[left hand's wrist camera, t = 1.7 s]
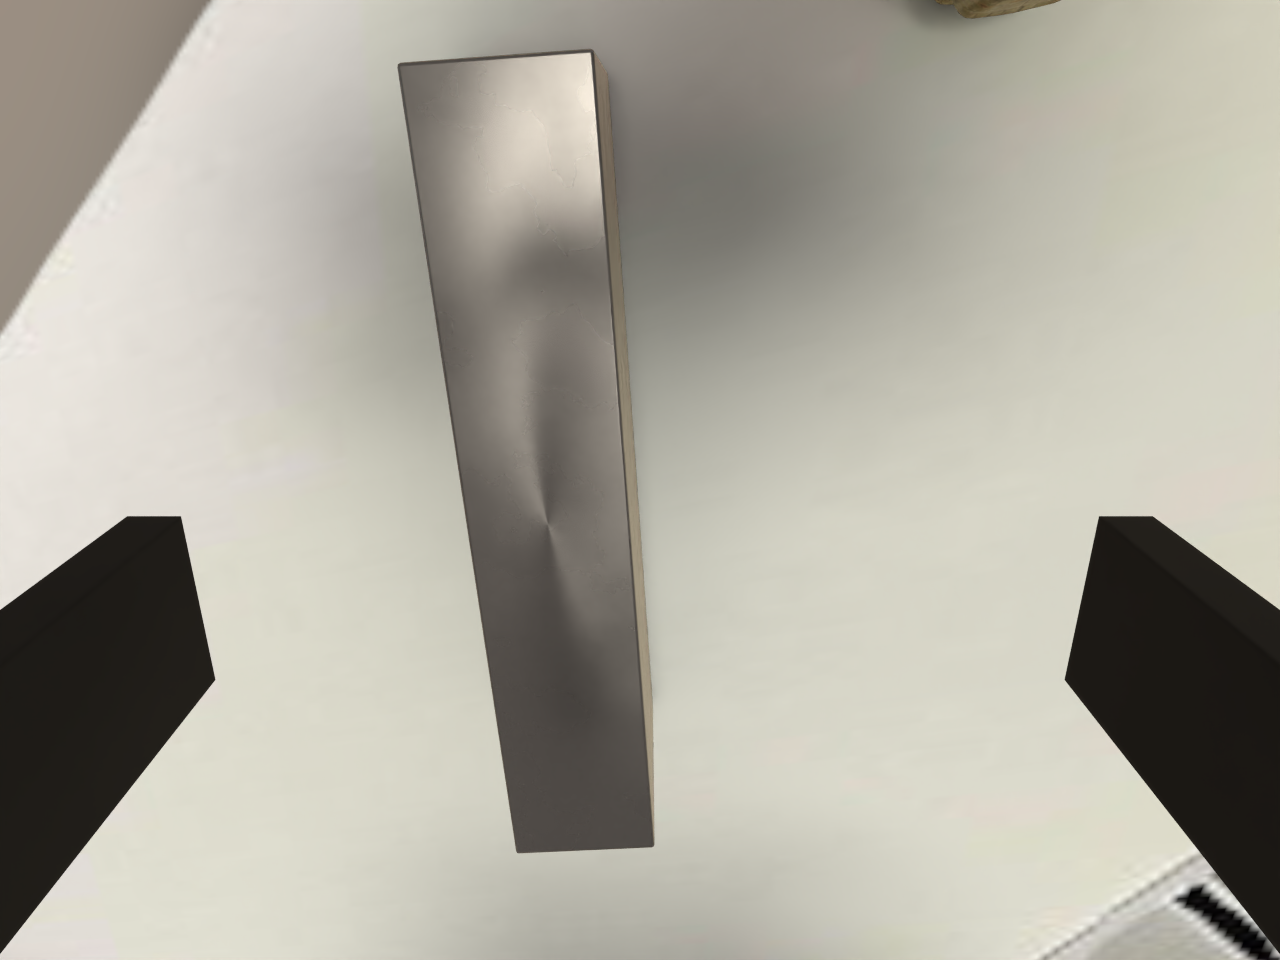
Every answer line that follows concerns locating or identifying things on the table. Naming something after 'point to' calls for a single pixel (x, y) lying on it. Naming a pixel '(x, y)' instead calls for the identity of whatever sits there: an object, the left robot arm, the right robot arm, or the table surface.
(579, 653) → the bar
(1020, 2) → the sculpture
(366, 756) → the table surface
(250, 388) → the table surface
